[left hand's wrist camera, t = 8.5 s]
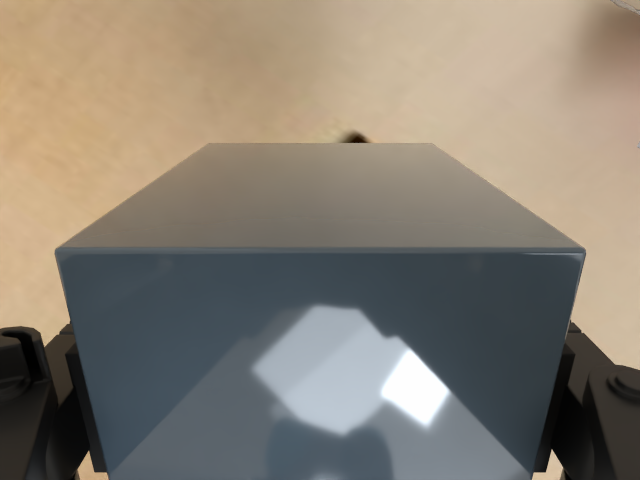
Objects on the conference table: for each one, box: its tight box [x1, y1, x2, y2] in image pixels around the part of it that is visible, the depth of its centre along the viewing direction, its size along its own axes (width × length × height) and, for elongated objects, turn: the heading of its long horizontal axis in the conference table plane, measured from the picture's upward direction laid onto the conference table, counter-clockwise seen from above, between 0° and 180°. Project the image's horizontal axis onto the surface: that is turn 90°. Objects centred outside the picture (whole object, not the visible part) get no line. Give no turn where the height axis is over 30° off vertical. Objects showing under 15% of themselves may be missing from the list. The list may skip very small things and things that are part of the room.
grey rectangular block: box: [55, 143, 586, 480], centre depth 11 cm, size 7×7×9 cm
